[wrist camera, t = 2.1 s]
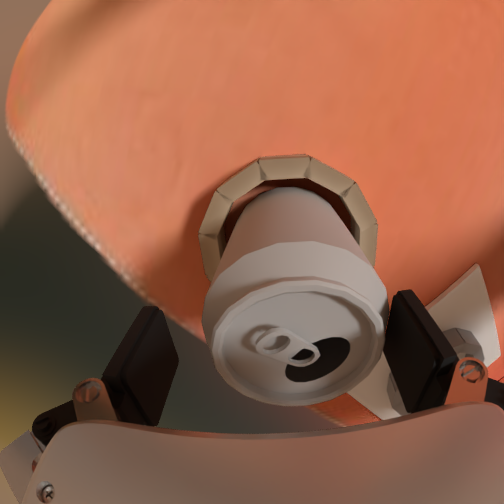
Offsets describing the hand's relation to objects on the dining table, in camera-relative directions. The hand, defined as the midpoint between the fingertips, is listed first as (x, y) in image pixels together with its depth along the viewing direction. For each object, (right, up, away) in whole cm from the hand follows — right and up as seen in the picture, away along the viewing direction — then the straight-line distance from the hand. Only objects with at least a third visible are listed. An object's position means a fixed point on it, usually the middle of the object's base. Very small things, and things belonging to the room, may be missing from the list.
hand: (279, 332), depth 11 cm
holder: (+19, -9, +14) cm, 25 cm away
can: (+2, +4, +9) cm, 10 cm away
